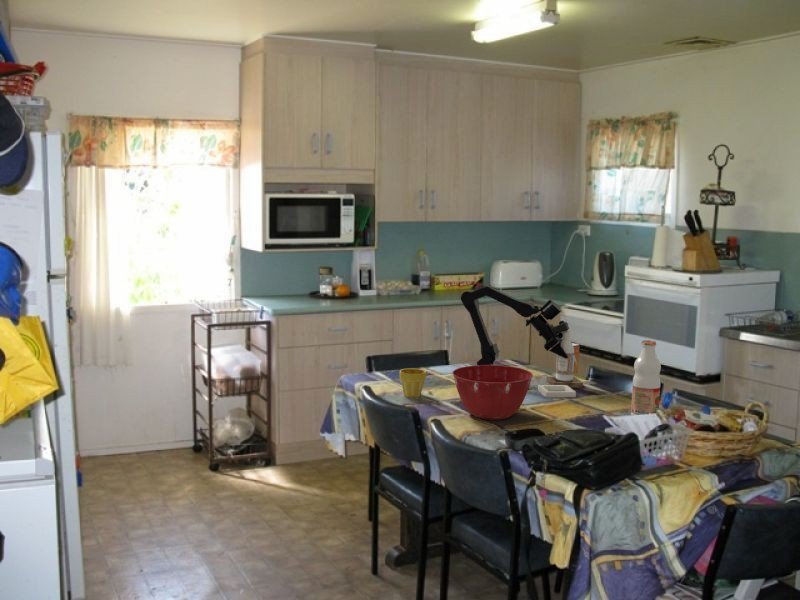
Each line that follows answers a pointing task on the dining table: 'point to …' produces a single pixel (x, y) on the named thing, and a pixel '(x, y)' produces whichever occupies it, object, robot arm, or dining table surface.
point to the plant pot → (412, 381)
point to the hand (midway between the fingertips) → (568, 356)
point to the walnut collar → (565, 382)
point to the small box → (576, 357)
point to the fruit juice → (646, 381)
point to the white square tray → (556, 391)
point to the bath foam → (565, 365)
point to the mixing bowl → (492, 389)
